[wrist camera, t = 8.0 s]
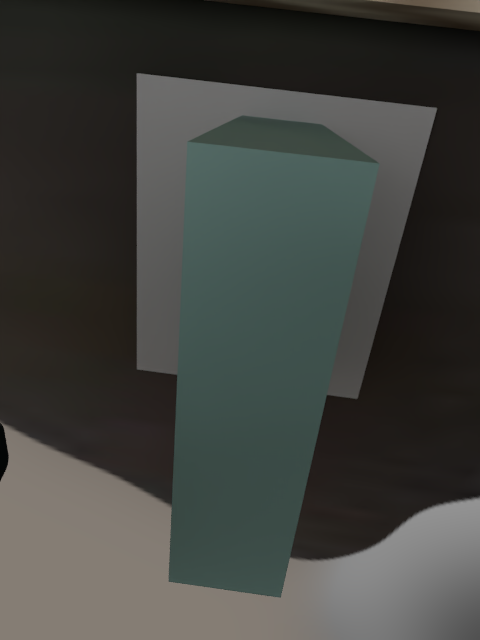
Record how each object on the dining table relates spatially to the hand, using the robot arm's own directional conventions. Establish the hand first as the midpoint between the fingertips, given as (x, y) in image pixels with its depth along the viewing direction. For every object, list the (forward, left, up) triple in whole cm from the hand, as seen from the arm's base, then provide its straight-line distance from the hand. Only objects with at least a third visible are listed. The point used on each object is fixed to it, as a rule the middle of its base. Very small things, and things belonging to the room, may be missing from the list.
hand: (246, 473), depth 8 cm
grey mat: (0, 0, -13) cm, 13 cm away
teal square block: (0, 0, -12) cm, 12 cm away
